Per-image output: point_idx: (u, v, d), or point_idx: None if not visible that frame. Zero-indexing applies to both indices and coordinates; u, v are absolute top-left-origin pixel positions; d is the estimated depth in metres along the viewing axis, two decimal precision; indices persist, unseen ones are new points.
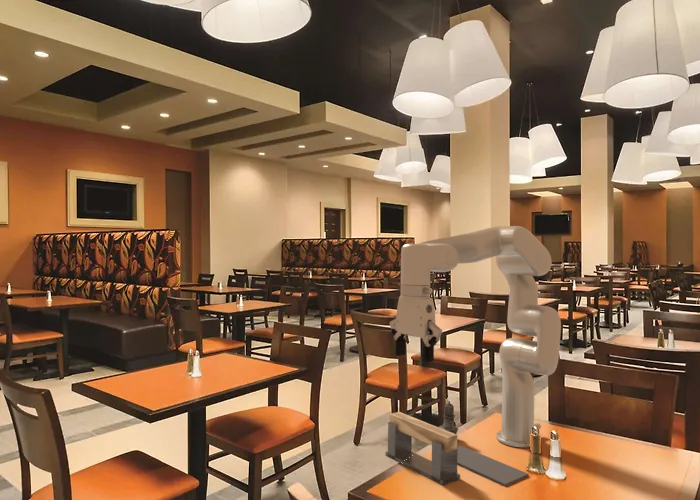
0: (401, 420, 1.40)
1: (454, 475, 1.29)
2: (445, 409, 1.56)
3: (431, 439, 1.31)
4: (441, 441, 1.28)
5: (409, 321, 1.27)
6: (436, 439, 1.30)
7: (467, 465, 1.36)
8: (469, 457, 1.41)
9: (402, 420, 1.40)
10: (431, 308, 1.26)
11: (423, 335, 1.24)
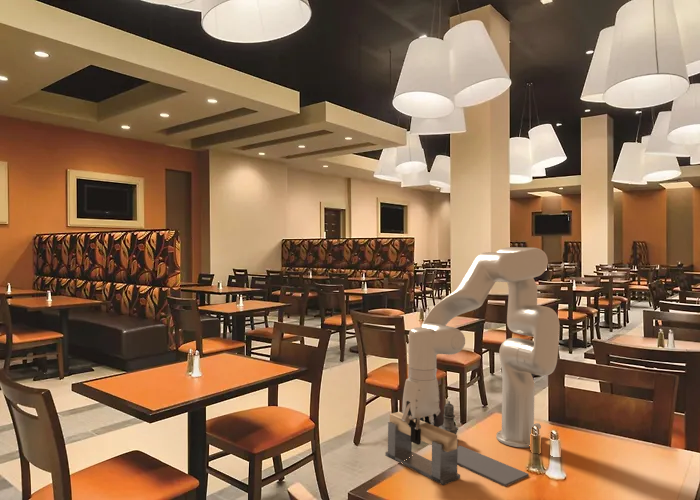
0: (401, 420, 1.40)
1: (454, 475, 1.29)
2: (445, 409, 1.56)
3: (431, 439, 1.31)
4: (441, 441, 1.28)
5: (429, 402, 1.35)
6: (436, 439, 1.30)
7: (467, 465, 1.36)
8: (469, 457, 1.41)
9: None
10: None
11: (438, 410, 1.38)
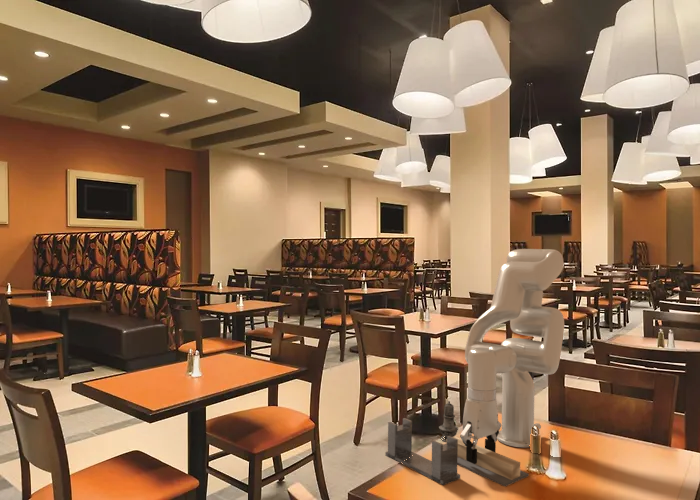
0: (459, 446, 1.41)
1: (454, 475, 1.29)
2: (445, 409, 1.56)
3: (493, 466, 1.32)
4: (505, 469, 1.29)
5: (489, 423, 1.36)
6: (499, 466, 1.31)
7: (467, 465, 1.36)
8: None
9: (460, 446, 1.41)
10: None
11: None
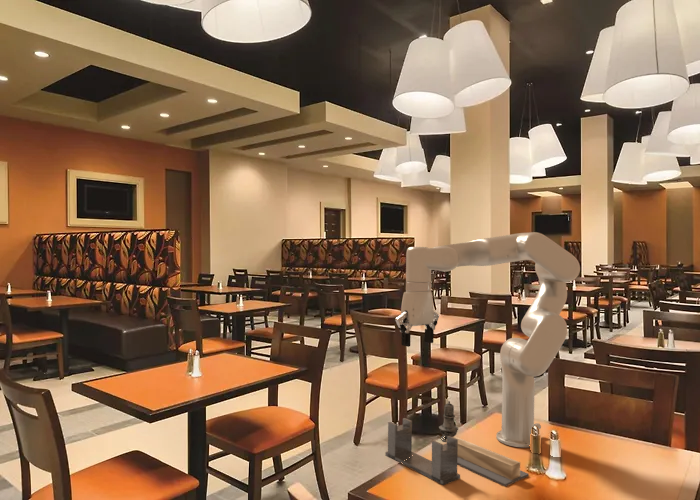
0: (459, 446, 1.41)
1: (454, 475, 1.29)
2: (445, 409, 1.56)
3: (493, 466, 1.32)
4: (505, 469, 1.29)
5: (424, 312, 1.50)
6: (499, 466, 1.31)
7: (467, 465, 1.36)
8: None
9: (460, 446, 1.41)
10: None
11: (432, 321, 1.53)
